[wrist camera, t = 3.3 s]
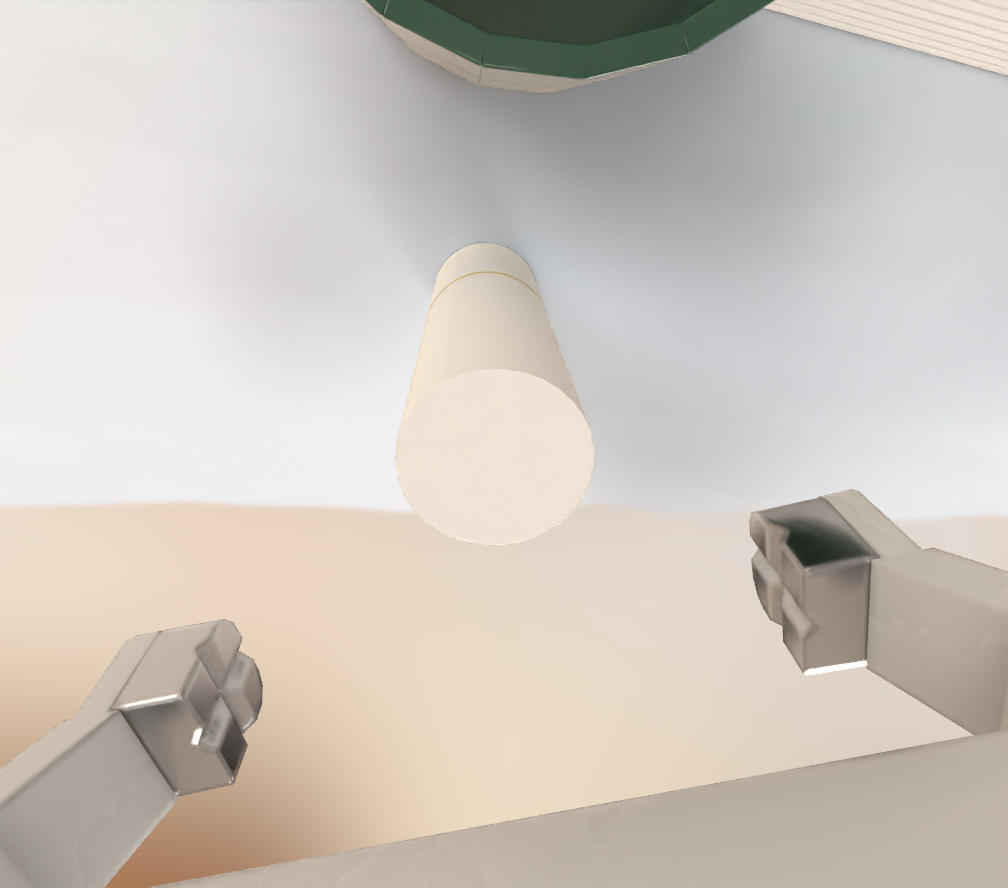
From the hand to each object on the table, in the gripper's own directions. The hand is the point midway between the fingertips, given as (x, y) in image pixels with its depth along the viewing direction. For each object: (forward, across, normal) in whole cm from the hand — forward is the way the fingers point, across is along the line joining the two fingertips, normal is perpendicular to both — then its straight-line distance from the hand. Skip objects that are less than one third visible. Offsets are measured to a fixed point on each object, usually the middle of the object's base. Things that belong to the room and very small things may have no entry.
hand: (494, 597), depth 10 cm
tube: (+20, 0, 0) cm, 20 cm away
